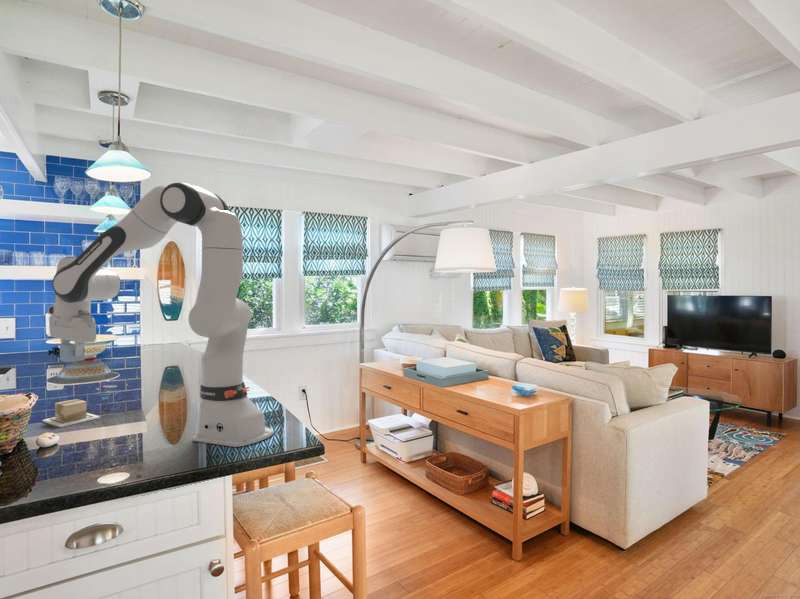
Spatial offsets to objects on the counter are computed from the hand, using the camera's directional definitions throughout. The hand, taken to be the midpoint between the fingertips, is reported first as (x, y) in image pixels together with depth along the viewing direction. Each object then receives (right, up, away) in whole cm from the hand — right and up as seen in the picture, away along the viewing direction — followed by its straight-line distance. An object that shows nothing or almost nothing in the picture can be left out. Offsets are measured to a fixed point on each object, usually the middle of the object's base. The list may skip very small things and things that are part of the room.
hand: (72, 354), depth 140 cm
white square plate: (-2, -21, +3) cm, 21 cm away
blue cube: (0, -2, 0) cm, 2 cm away
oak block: (-2, -20, +2) cm, 20 cm away
